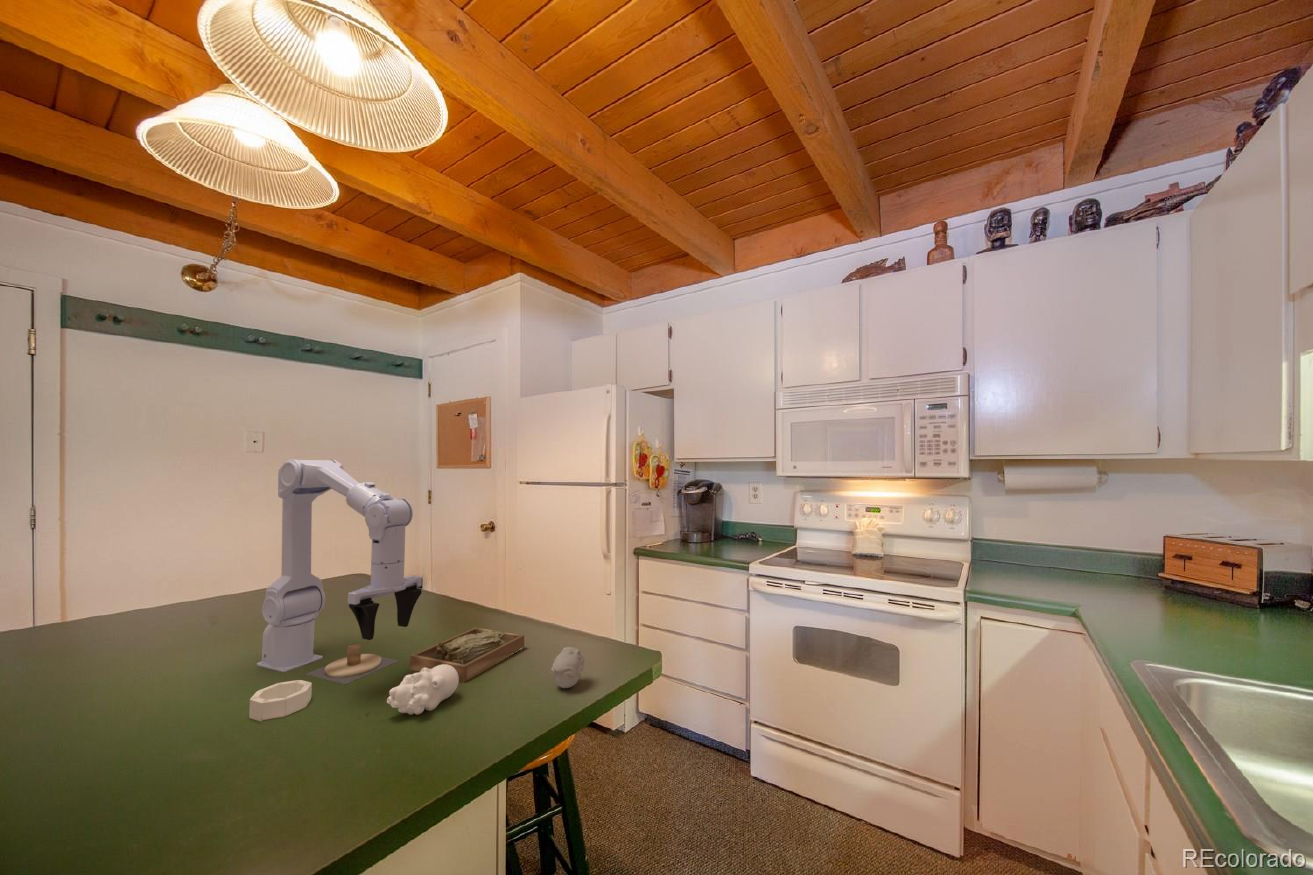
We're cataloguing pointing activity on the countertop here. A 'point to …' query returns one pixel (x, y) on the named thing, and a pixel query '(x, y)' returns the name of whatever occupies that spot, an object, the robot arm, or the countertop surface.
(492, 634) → the dried leaf bundle
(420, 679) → the figurine
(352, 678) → the mat
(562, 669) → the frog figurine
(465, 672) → the frame
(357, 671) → the lid
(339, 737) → the countertop surface
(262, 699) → the bowl
